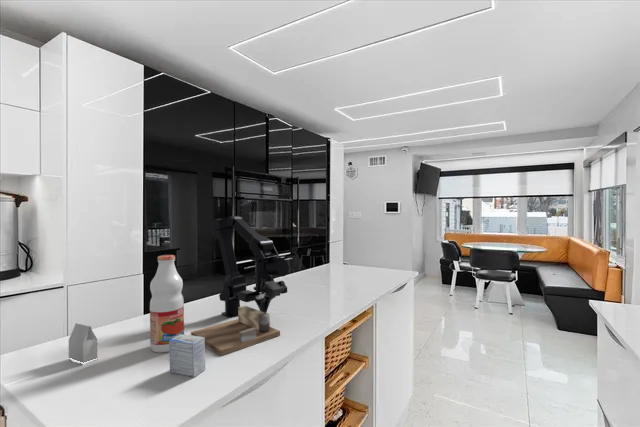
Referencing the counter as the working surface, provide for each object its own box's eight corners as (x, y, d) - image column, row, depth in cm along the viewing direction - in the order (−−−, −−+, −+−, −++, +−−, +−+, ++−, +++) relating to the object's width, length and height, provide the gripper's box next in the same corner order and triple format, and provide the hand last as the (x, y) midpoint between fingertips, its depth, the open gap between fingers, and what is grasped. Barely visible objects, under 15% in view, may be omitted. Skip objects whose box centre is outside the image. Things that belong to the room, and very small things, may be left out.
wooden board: (191, 336, 107) (190, 322, 107) (246, 320, 122) (245, 308, 122) (221, 355, 92) (221, 340, 92) (280, 335, 107) (279, 321, 107)
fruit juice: (166, 339, 105) (165, 253, 105) (190, 342, 102) (189, 254, 102) (143, 351, 96) (141, 257, 96) (168, 355, 93) (167, 258, 93)
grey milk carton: (83, 365, 87) (82, 328, 87) (68, 360, 90) (68, 325, 90) (97, 359, 91) (96, 324, 91) (83, 355, 93) (82, 321, 93)
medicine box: (206, 369, 84) (205, 336, 84) (194, 378, 80) (193, 343, 80) (181, 365, 86) (181, 333, 86) (169, 373, 82) (168, 339, 82)
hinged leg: (271, 329, 107) (271, 314, 107) (262, 332, 104) (262, 317, 104) (246, 318, 118) (246, 305, 118) (237, 321, 116) (237, 307, 116)
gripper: (254, 280, 107) (254, 327, 107) (296, 272, 120) (297, 314, 120) (236, 276, 114) (237, 319, 114) (278, 269, 128) (278, 308, 128)
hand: (263, 315), depth 119 cm, fingers closed
